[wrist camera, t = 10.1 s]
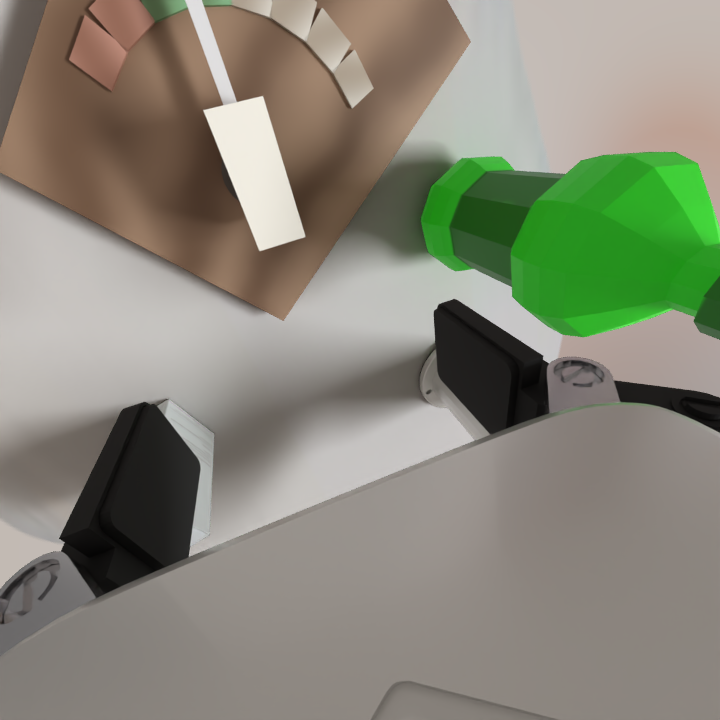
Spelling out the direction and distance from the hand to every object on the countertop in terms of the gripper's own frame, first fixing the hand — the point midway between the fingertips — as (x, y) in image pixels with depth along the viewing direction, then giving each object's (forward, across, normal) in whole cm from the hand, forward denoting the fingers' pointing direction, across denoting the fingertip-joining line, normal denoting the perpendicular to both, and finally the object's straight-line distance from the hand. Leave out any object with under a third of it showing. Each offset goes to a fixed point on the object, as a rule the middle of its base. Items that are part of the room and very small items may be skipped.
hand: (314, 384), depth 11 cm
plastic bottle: (+23, -18, +2) cm, 29 cm away
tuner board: (+22, -2, -10) cm, 24 cm away
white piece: (+19, -1, -8) cm, 21 cm away
